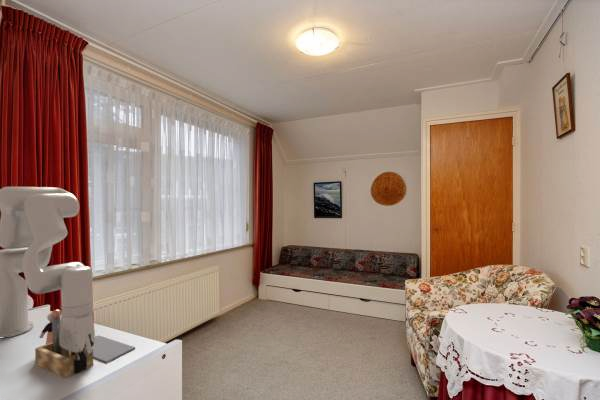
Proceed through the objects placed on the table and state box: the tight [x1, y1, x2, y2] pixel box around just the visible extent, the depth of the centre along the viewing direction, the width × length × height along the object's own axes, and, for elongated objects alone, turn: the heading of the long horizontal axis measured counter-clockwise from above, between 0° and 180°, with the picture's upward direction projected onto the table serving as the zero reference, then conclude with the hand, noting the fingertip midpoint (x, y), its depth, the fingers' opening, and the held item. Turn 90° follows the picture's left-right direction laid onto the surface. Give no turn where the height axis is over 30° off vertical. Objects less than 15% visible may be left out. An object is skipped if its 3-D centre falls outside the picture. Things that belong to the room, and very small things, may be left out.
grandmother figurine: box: [39, 311, 53, 345], centre depth 102 cm, size 8×4×13 cm, turn 168°
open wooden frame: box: [34, 342, 94, 379], centre depth 93 cm, size 16×8×5 cm, turn 65°
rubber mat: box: [91, 334, 136, 364], centre depth 102 cm, size 20×10×1 cm, turn 65°
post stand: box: [50, 309, 62, 355], centre depth 94 cm, size 3×3×16 cm
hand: (78, 370), depth 90 cm, fingers closed on open wooden frame, 1 cm apart
